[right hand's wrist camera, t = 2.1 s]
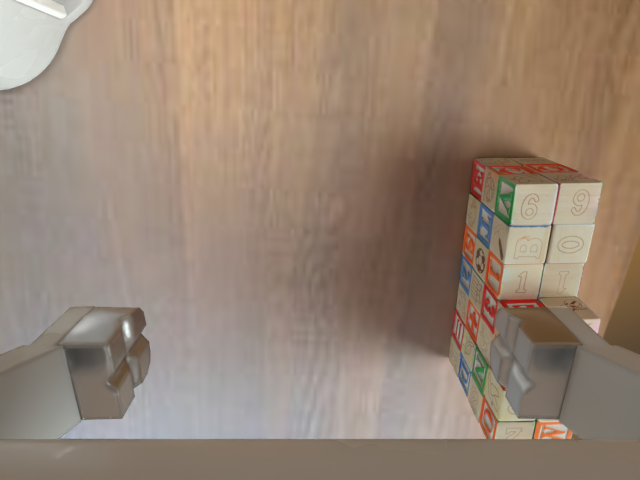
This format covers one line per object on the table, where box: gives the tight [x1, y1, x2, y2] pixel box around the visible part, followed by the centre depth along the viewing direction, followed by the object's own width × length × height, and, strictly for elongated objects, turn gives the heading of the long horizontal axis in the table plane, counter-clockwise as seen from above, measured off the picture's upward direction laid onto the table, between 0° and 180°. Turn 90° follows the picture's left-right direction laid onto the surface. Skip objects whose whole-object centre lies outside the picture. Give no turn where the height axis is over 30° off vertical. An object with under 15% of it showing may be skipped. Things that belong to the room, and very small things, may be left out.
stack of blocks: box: [449, 157, 603, 439], centre depth 37 cm, size 21×6×12 cm, turn 1°
